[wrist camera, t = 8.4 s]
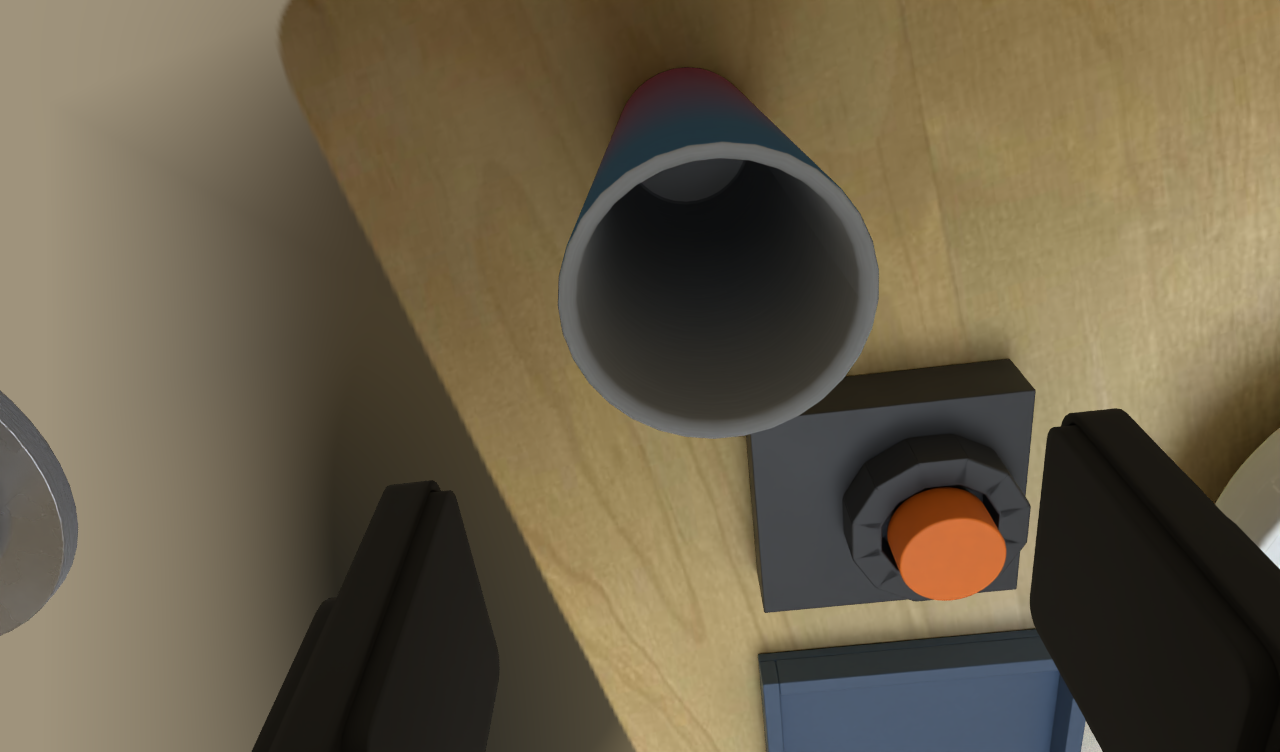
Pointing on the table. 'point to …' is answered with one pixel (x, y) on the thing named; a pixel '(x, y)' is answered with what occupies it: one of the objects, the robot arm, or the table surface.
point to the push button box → (884, 478)
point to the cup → (713, 267)
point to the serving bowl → (1257, 497)
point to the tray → (920, 697)
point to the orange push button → (946, 544)
